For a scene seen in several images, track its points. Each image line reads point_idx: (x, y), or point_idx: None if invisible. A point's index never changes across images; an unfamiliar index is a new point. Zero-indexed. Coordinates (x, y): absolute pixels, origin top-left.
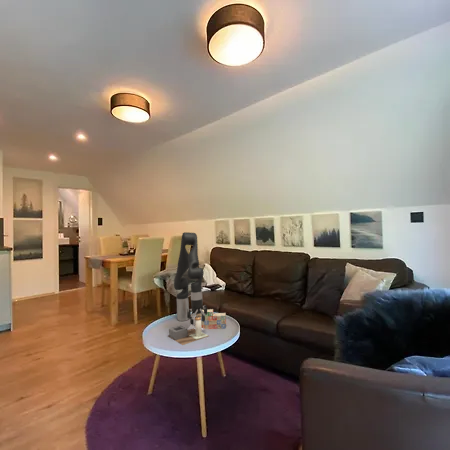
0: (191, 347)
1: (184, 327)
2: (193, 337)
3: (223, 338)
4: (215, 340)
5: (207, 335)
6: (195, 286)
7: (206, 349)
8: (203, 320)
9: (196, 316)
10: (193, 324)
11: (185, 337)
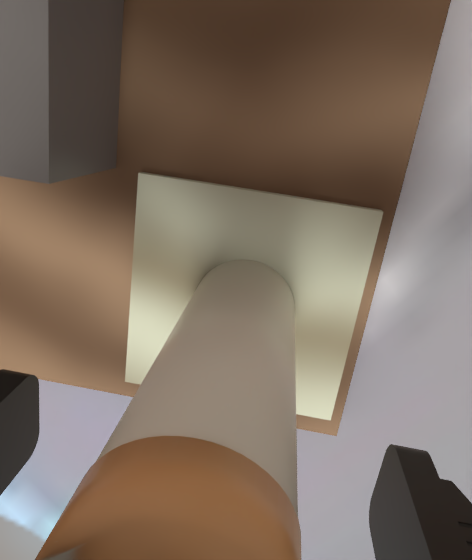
0: None
1: (39, 41)
2: (132, 306)
3: None
4: (326, 505)
5: (320, 418)
6: None
7: None
8: (377, 531)
9: (165, 543)
10: (29, 448)
11: None
